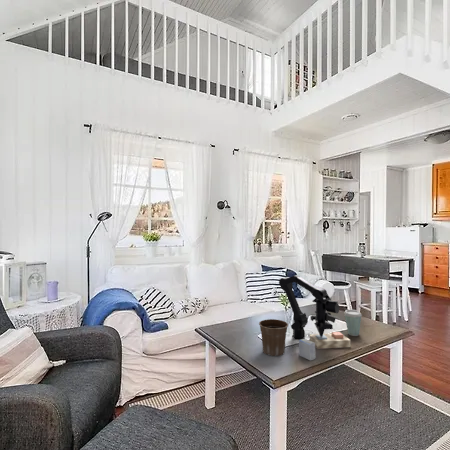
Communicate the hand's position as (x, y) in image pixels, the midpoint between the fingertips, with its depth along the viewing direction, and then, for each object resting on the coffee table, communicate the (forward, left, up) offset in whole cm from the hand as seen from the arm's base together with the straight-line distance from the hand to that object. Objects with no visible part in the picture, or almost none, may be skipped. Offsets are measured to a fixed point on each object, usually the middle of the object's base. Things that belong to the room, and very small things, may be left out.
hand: (321, 336), depth 183 cm
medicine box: (-15, -16, -5) cm, 23 cm away
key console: (+5, 0, -5) cm, 7 cm away
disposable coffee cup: (+27, +13, -5) cm, 30 cm away
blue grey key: (0, 0, -3) cm, 3 cm away
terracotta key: (+10, 0, -2) cm, 10 cm away
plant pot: (-31, -7, -5) cm, 32 cm away
